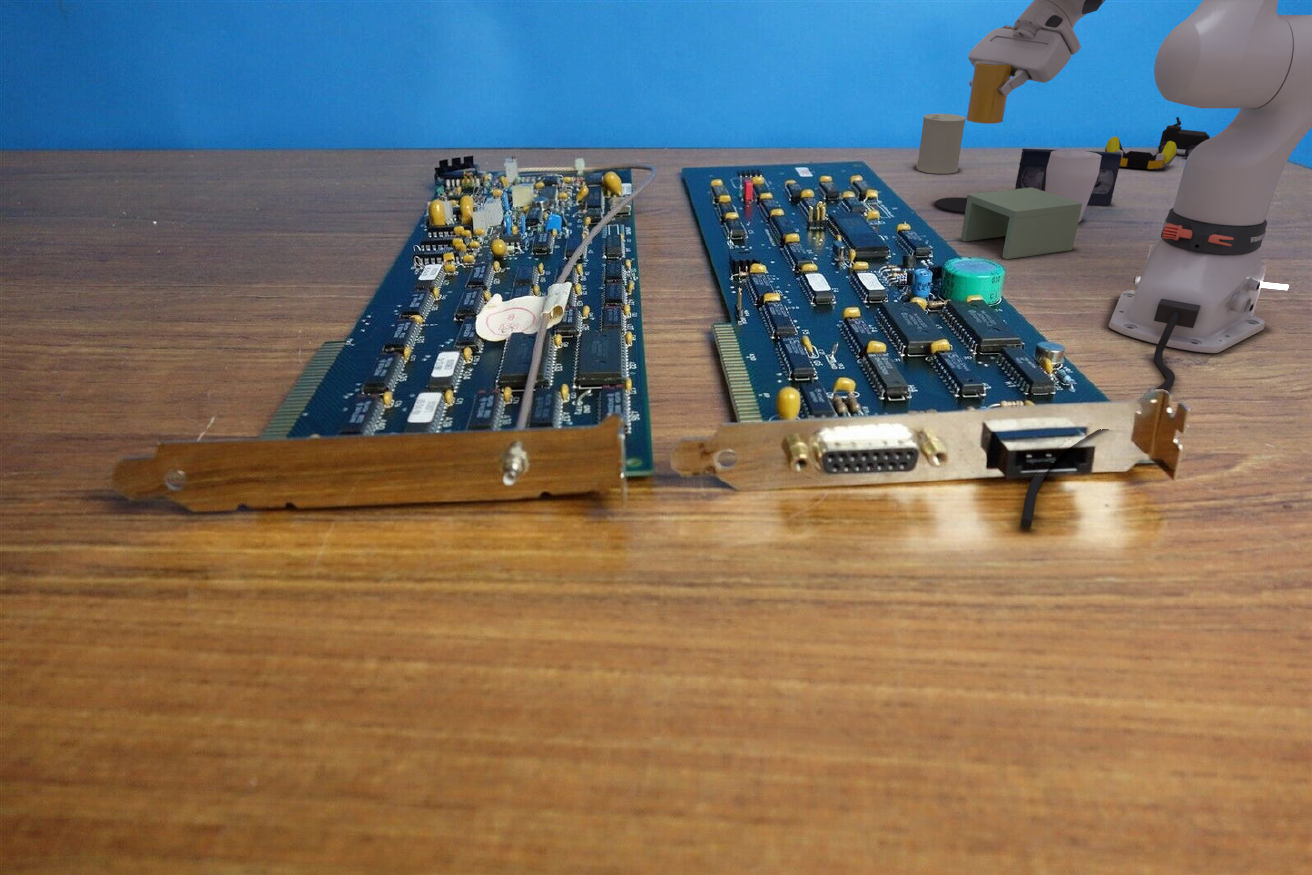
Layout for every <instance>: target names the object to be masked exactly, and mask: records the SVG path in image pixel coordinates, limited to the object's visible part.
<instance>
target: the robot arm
mask: <svg viewBox="0 0 1312 875" xmlns="http://www.w3.org/2000/svg"><path fill="white" fill-rule="evenodd" d="M1105 2H1106V0H1033V1H1032V2H1031V3H1030V4H1029V5H1028V7H1026V9H1025V10H1024V11H1023V12H1022V13H1021V14H1020V16H1018V18H1017V19H1016V20H1015V21H1014V25H1013V26H1011V25H1009V24H1007V25H1006V24H1005V25H1003V26H1002V27H998V28H994V29H993V30H991V31H990V32H988V33H987V34H986V35H985V36H984V37H982V39H981V40H980V41H978V42H977V43H976V45H974V47H972V49H971V50H970V51H969V53H968V58H967V59H968V61H969V62H970V64H971V65H972V67H973V68H974V67H975V62H977V61H997V62H1003V63H1008V64H1012V71H1011V77H1010V80H1008V81H1007V82H1003V83H1002V84H1001V85H1000V86H999V87H998V88H997V91H998V92H999V94H1000V95H1003V96H1007V97H1008V96H1009V95H1010V94H1011V93H1012V92H1013V90H1016V89H1017V88H1020V86H1022V85H1025V84H1026V83H1027V81H1032V82H1037V83H1042V84H1045V83H1048V82H1049V81H1051V80H1053V79H1055V77H1056V76H1058V74H1060V72H1061V71H1062V70H1063V69H1064V68H1065V67H1066V65H1067V64H1068V63H1069V62H1070V60H1071V58H1072V56H1074V55H1075V54H1077V53H1078V52H1079V51H1080V49H1081V47H1082V46H1081V43H1080V41H1079V38H1078V36H1077V35H1076V32H1075V31H1074V27H1075V26H1076V23H1078V21H1079V20H1081V19H1082V18H1084V17H1085V16H1087V15H1088V14H1091V13H1094V12H1097V11H1098V10H1099V8H1100V7H1101V6H1102V5H1103V4H1104V3H1105ZM1278 3H1279V0H1202V1H1201V2H1200V4H1199V5H1198V6H1197V8H1196V9H1195V10H1194V11H1193V12H1192V13H1191V14H1190V15H1189V16H1187V18H1185V19H1184V20H1183V21H1181V22H1180V23H1179V24H1177V25H1176V26H1174V28H1173V29H1172V30H1171V31H1170V32H1169V33H1168V34H1167V35H1166V37H1165V38H1164V40H1163V41H1162V43H1161V44H1160V46H1159V48H1158V50H1157V52H1156V56H1155V59H1154V65H1153V77H1154V81H1155V85H1156V87H1157V89H1158V92H1159V93H1160V95H1161V96H1162V97H1163V99H1165V100H1166V101H1168V102H1170V103H1171V102H1172V103H1176V104H1179V105H1184V106H1188V107H1193V108H1198V109H1239V110H1238V113H1236V116H1235V117H1234V118H1233V120H1232V121H1231V122H1230V123H1229V124H1228V125H1227V126H1226V127H1225V128H1224V129H1223V130H1222V131H1221V132H1219V133H1218V134H1216V135H1214V136H1211V137H1210V139H1208V140H1206V141H1204V142H1202V143H1200V144H1199V145H1198V146H1196V147H1195V148H1194V149H1193V150H1192V152H1191V153H1190V155H1189V156H1188V158H1187V157H1186V160H1185V164H1184V167H1183V171H1182V174H1181V178H1180V181H1179V186H1178V189H1177V192H1176V196H1175V200H1174V204H1173V207H1172V208H1170V209H1169V211H1168V214H1167V216H1166V217H1165V219H1164V221H1163V222H1164V223H1163V228H1162V231H1161V233H1160V239H1159V240H1157V241H1156V242H1154V243H1153V244H1150V246H1149V250H1148V254H1147V258H1146V261H1145V266H1144V268H1143V270H1142V274H1141V275H1136V276H1135V277H1133V282H1132V283H1133V286H1136V289H1133V290H1132V289H1131V290H1130V289H1129V290H1123V291H1121V293H1120V296H1119V298H1118V301H1117V303H1116V306H1115V308H1114V310H1113V312H1112V315H1111V318H1110V320H1109V322H1108V328H1109V329H1111V330H1112V331H1115V332H1117V333H1119V334H1121V335H1124V336H1128V337H1131V338H1133V339H1137V340H1141V341H1144V342H1148V343H1151V344H1156V347H1155V350H1154V354H1153V363H1154V365H1155V366H1156V368H1157V369H1158V371H1159V372H1160V373H1161V374H1162V375H1163V376H1164V377H1165V380H1164V381H1163V383H1162V384H1160V385H1159V386H1158V387H1156V388H1155V389H1164V390H1167V391H1169V390H1170V389H1171V388H1172V387H1173V385H1174V383H1175V379H1176V375H1175V373H1174V371H1173V370H1172V369H1170V367H1168V366H1166V365H1165V363H1164V361H1163V355H1164V351H1165V348H1166V347H1168V348H1172V349H1173V348H1174V349H1178V350H1182V351H1190V352H1196V353H1207V354H1218V353H1221V352H1223V351H1225V350H1227V349H1229V348H1231V347H1233V346H1235V345H1236V344H1239V343H1241V342H1242V341H1245V340H1246V339H1248V338H1250V337H1252V336H1254V335H1255V334H1258V333H1259V332H1262V331H1264V329H1265V325H1266V321H1265V319H1262V318H1261V317H1258V316H1257V315H1255V311H1256V307H1257V304H1258V300H1259V297H1260V293H1261V291H1262V290H1261V289H1262V288H1263V289H1272V290H1283V291H1288V289H1289V287H1290V285H1289V284H1285V283H1283V284H1282V283H1274V282H1264V279H1265V275H1266V272H1267V266H1266V265H1265V263H1264V262H1263V260H1262V259H1261V257H1260V255H1259V252H1258V250H1259V249H1260V248H1261V247H1262V244H1263V240H1264V238H1265V236H1266V233H1267V230H1266V229H1267V225H1268V220H1267V219H1266V218H1267V214H1268V212H1269V208H1270V205H1271V203H1272V200H1273V197H1274V194H1275V191H1276V188H1277V186H1278V183H1279V180H1280V178H1281V175H1282V173H1283V170H1284V168H1285V166H1286V164H1287V163H1288V161H1289V159H1290V157H1291V155H1292V154H1293V152H1294V150H1295V149H1296V148H1297V146H1298V145H1299V143H1300V142H1301V141H1302V140H1303V138H1304V137H1305V136H1306V134H1308V133H1309V131H1310V130H1311V129H1312V14H1278ZM972 79H973V77H972V78H971V79H970V80H969V81H968V85H969V87H970V88H971V86H972ZM1048 472H1049V471H1048ZM1048 472H1045V473H1044V474H1043V476H1038V477H1035V475H1036V472H1035V473H1034V475H1033V477H1032V479H1031V481H1030V483H1029V485H1028V488H1027V491H1026V495H1025V499H1024V504H1023V509H1022V515H1021V520H1020V525H1021V527H1023V528H1026V529H1027V528H1031V527H1032V524H1033V519H1034V512H1035V506H1036V501H1037V500H1036V499H1037V497H1038V493H1039V490H1040V488H1041V485H1042V483H1043V481H1044V479H1045V477H1046V476H1047V474H1048Z"/></svg>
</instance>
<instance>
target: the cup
mask: <svg viewBox="0 0 1312 875" xmlns="http://www.w3.org/2000/svg"><path fill="white" fill-rule="evenodd" d="M1054 150H1055V151H1052V152H1051V154H1050V158H1049V162H1048V165H1047V170H1046V186H1045V192H1048V193H1051V194H1054V195H1057V196H1060V197H1064V198H1067V199H1070V200H1073V201H1076V202H1079V203H1082V208H1081V212H1080V217H1079V221H1078V223H1080V222H1081V221H1082V220H1083V217H1084V214H1085V211H1086V209H1087V206H1088V201H1089V198H1090V196H1091V193H1092V190H1093V188H1094V185H1095V182H1096V180H1097V177H1098V174H1099V169H1100V162H1101V155H1099V154H1097V153H1093V152H1088V151H1089V150H1079V149H1054Z"/></svg>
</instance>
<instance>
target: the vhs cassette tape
mask: <svg viewBox="0 0 1312 875" xmlns="http://www.w3.org/2000/svg"><path fill="white" fill-rule="evenodd" d="M1055 150H1056V149H1052V148H1051V149H1047V148H1022V149H1021V155H1020V160H1019V166H1018V171H1017V176H1016V182H1015V188H1014V189H1022V188H1031V187H1032V188H1035V189H1039V190H1042V191H1045V186H1046V170H1047V165H1048V162H1049V158H1050V154H1051V152H1052V151H1055ZM1087 151H1088V152H1093V153H1097V154H1099V155H1101V162H1100V169H1099V174H1098V177H1097V180H1096V182H1095V185H1094V188H1093V190H1092V193H1091V196H1090V198H1089V201H1088V204H1087V206H1088V205H1090V206H1091V205H1092V206H1110V205H1112V200H1113V196H1114V191H1115V186H1116V182H1117V178H1118V174H1119V171H1120V170H1119V169H1120V167H1119V165H1120V162H1121V157H1122V155H1121V153H1119V152H1116V153H1115V152H1105V151H1095V150H1094V151H1093V150H1087Z"/></svg>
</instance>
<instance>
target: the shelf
mask: <svg viewBox="0 0 1312 875" xmlns="http://www.w3.org/2000/svg"><path fill="white" fill-rule="evenodd" d="M966 198H967V204H966V210H965V214H964V216H963V217H964V218H963V224H962V229H961V236H960V240H961V241H963V242H971V241H979V240H986V239H987V240H988V239H995V238H1001V237H1002V238H1003V237H1005V240H1004V246H1003V250H1002V251H1003V252H1002V256H1001V257H1002V258H1003V259H1004V260H1010V259H1012V260H1013V259H1018V258H1019V259H1020V258H1026V257H1031V256H1039V255H1047V254H1054V253H1059V252H1067V251H1073V247H1074V244H1075V238H1076V234H1077V230H1078V225H1079V222H1078V221H1079V217H1080V212H1081V208H1082V203H1079V202H1076V201H1073V200H1070V199H1067V198H1064V197H1060V196H1057V195H1054V194H1051V193H1048V192H1045V191H1042V190H1039V189H1035V188H1032V187H1031V188H1022V189H1015V188H1013V189H1005V190H1004V189H1003V190H995V191H988V192H979V193H978V192H977V193H969V194H967V197H966Z"/></svg>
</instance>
